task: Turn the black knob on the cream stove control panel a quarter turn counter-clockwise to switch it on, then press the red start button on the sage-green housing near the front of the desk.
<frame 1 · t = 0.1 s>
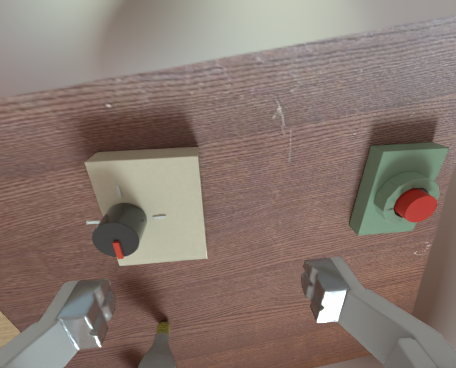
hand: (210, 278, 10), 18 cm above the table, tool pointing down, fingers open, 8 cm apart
start button: (414, 205, 26), point 4 cm above the table, slide at 0.1 cm
stove panel: (159, 203, 28), on the table
light bulb: (164, 321, 39), on the table
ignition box: (387, 187, 30), on the table
burner knob: (121, 230, 24), point 5 cm above the table, hinge at 0.0°
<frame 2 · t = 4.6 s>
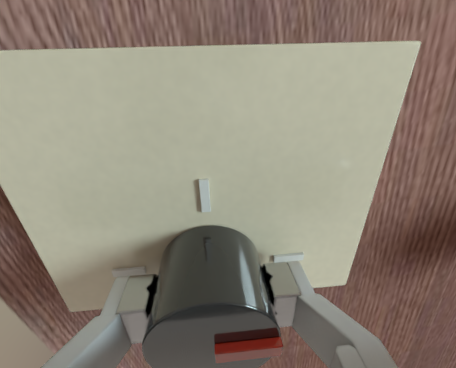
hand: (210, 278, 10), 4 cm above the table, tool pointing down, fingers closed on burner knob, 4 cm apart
stove panel: (205, 175, 12), on the table
burner knob: (211, 302, 9), point 5 cm above the table, hinge at -0.3°, touching gripper
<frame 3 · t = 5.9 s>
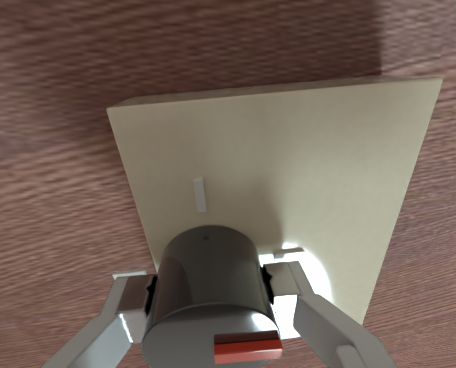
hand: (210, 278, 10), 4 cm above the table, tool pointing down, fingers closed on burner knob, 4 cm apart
stove panel: (261, 217, 13), on the table
burner knob: (211, 302, 9), point 5 cm above the table, hinge at 85.2°, touching gripper
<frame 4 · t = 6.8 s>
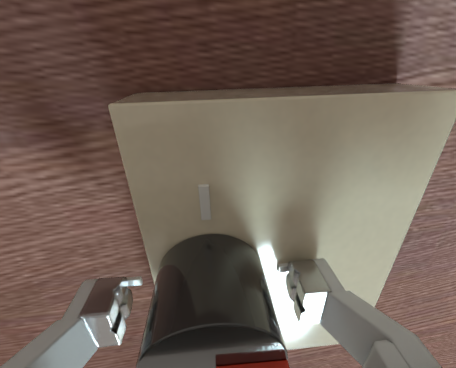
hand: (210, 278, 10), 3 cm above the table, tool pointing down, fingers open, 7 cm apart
stove panel: (263, 224, 13), on the table
burner knob: (212, 317, 8), point 5 cm above the table, hinge at 87.0°
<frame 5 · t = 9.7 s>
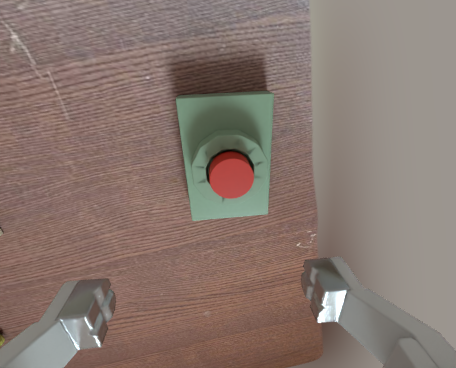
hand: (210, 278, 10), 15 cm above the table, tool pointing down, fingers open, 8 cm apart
start button: (230, 175, 19), point 4 cm above the table, slide at 0.1 cm
light bulb: (0, 332, 32), on the table
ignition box: (226, 156, 23), on the table
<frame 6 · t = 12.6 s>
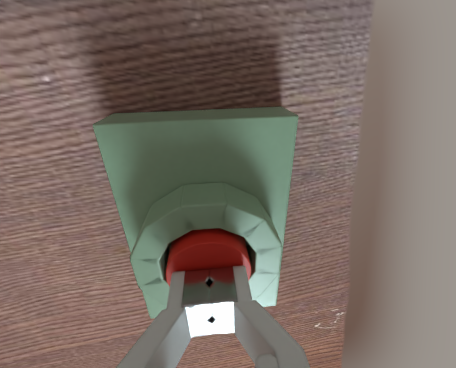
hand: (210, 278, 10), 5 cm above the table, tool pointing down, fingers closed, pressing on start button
start button: (208, 260, 10), point 4 cm above the table, slide at -0.8 cm, touching gripper
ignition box: (207, 214, 14), on the table
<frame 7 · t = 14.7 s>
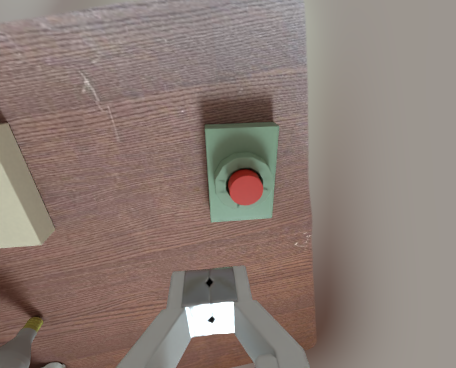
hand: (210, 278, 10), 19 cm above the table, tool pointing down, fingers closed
start button: (245, 187, 25), point 4 cm above the table, slide at 0.1 cm
light bulb: (39, 316, 37), on the table
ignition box: (239, 171, 29), on the table
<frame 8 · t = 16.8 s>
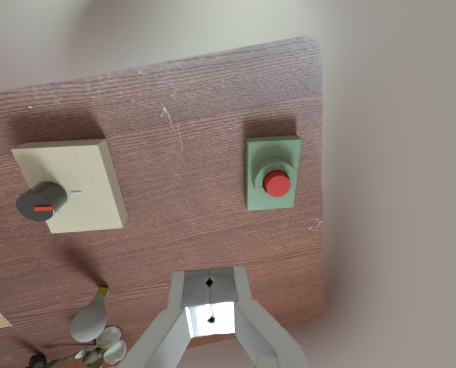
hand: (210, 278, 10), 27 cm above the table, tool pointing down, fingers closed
start button: (276, 184, 34), point 4 cm above the table, slide at 0.1 cm
stove panel: (82, 183, 36), on the table
artificial flower: (81, 342, 54), on the table
light bulb: (105, 287, 47), on the table
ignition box: (269, 171, 38), on the table
burner knob: (42, 201, 31), point 5 cm above the table, hinge at 87.0°
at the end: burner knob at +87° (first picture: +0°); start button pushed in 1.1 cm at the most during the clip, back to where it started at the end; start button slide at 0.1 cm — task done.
